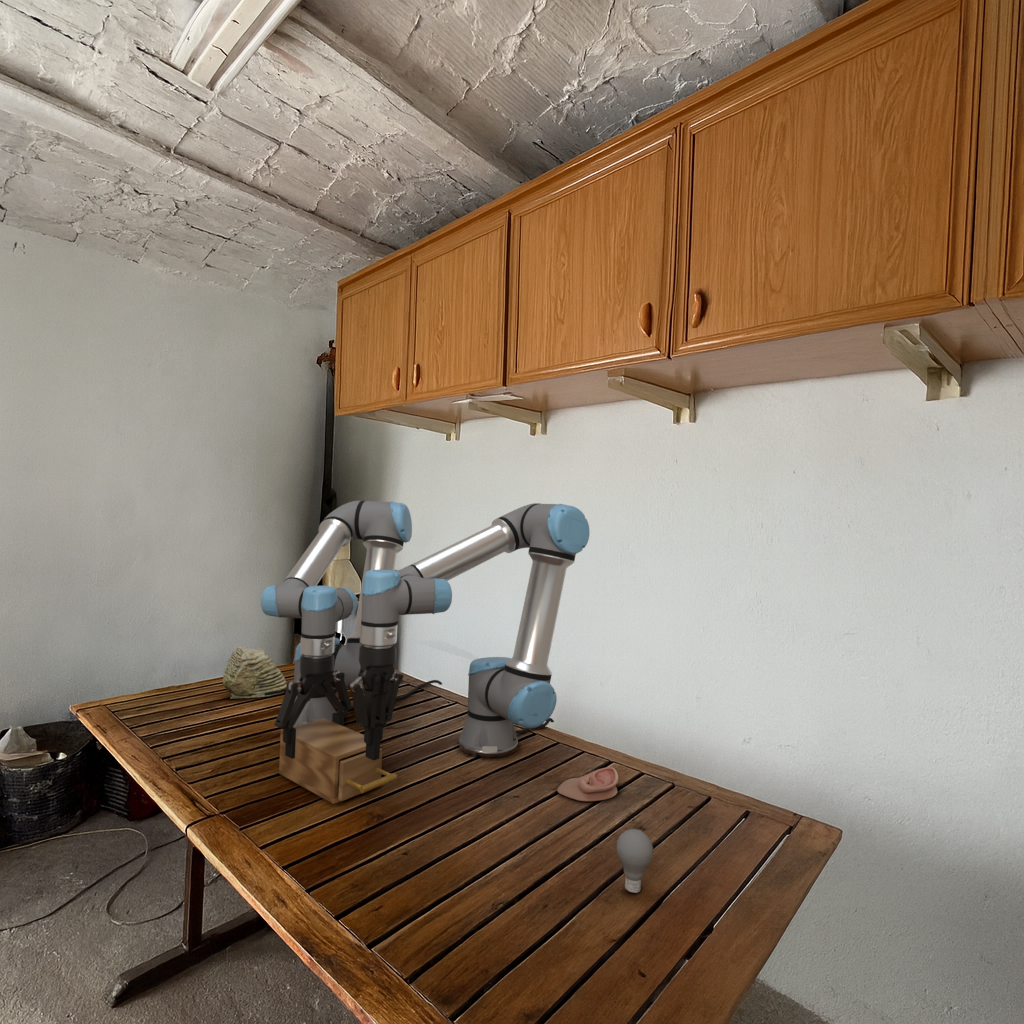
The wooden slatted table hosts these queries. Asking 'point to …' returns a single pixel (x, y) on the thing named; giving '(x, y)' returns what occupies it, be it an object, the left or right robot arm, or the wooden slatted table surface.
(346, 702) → the left robot arm
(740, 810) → the wooden slatted table surface
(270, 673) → the fossil
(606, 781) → the anatomical model
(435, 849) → the wooden slatted table surface
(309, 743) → the cabinet
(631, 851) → the light bulb
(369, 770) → the drawer
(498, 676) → the right robot arm
